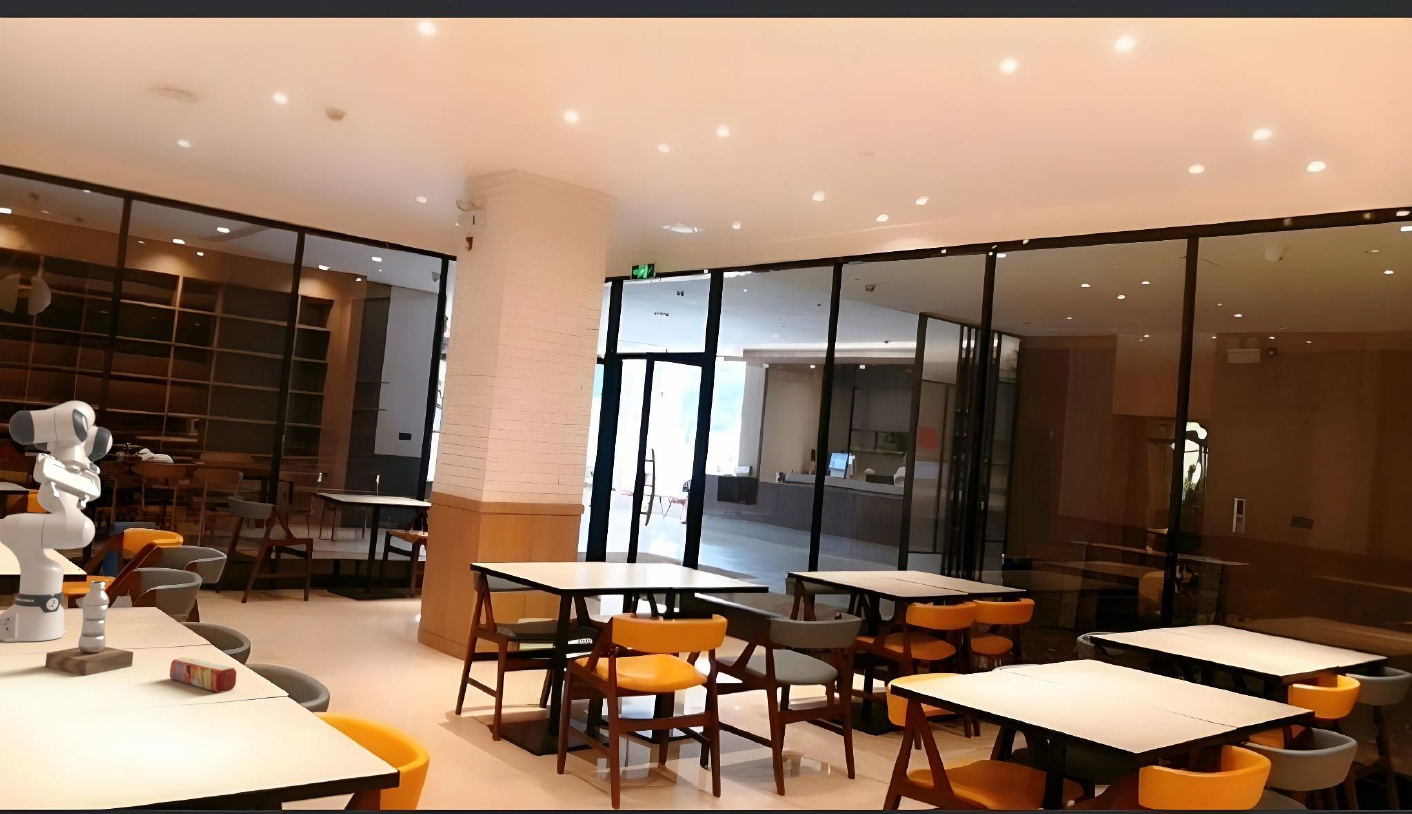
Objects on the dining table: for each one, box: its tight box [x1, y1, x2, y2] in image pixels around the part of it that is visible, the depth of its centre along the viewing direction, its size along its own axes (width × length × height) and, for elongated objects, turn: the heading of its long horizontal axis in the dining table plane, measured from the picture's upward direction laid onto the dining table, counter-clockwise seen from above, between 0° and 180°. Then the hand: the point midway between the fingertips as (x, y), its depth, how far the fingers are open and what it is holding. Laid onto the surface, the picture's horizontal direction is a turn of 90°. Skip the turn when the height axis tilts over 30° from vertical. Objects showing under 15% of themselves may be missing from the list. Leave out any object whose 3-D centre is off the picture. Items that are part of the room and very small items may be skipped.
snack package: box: [169, 656, 237, 693], centre depth 257 cm, size 21×7×7 cm, turn 62°
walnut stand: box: [45, 646, 134, 676], centre depth 268 cm, size 16×14×4 cm
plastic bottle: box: [77, 580, 110, 653], centre depth 268 cm, size 6×7×20 cm
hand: (67, 503), depth 276 cm, fingers open, 8 cm apart
